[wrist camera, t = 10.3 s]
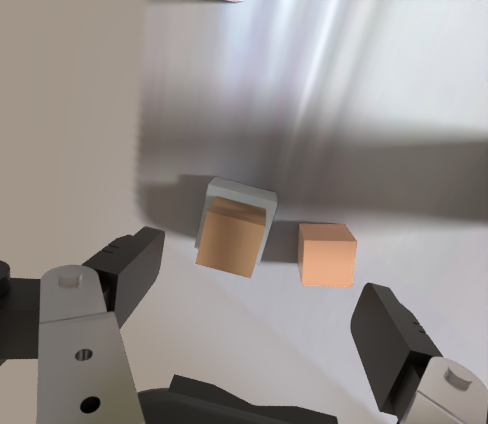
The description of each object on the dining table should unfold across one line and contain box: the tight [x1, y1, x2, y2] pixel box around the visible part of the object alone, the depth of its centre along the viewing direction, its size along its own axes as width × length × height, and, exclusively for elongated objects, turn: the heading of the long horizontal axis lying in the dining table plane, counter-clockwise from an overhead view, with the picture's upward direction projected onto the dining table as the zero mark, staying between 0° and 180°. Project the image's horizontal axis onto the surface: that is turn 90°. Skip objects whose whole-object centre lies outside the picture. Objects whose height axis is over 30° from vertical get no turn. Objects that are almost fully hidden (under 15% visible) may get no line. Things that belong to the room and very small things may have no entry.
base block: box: [194, 176, 278, 265], centre depth 32 cm, size 7×7×4 cm
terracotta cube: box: [298, 223, 357, 287], centre depth 32 cm, size 5×5×5 cm
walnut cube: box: [196, 196, 266, 278], centre depth 28 cm, size 5×5×5 cm
